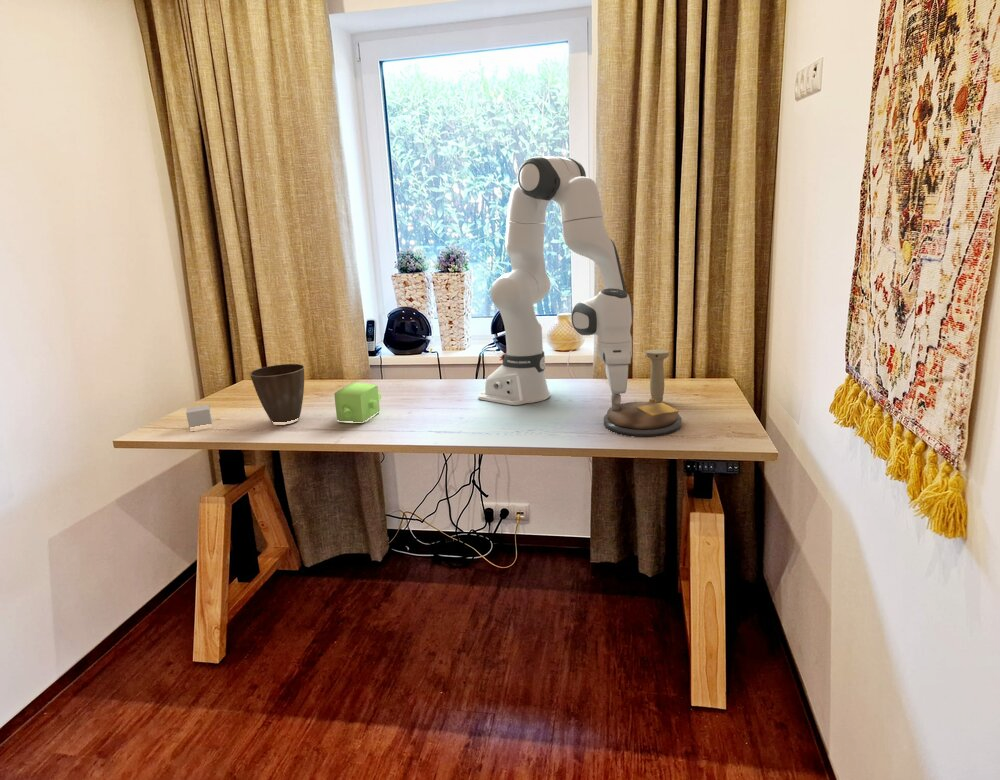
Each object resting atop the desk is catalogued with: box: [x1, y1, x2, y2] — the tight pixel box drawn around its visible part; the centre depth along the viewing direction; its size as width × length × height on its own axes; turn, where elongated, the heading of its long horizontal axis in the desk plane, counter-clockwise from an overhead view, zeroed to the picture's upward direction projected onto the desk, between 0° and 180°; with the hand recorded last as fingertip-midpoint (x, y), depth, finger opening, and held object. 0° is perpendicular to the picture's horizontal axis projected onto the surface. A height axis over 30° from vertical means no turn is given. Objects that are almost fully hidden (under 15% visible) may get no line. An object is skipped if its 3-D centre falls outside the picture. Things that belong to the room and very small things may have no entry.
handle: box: [645, 349, 670, 403], centre depth 179 cm, size 5×6×15 cm
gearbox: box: [333, 382, 382, 422], centre depth 181 cm, size 18×10×10 cm, turn 162°
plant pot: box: [249, 363, 305, 422], centre depth 182 cm, size 15×15×16 cm
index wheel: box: [606, 394, 680, 429], centre depth 163 cm, size 18×18×6 cm
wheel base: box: [603, 398, 683, 438], centre depth 164 cm, size 20×21×4 cm
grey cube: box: [185, 404, 213, 428], centre depth 184 cm, size 6×6×6 cm
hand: (615, 400), depth 169 cm, fingers closed
